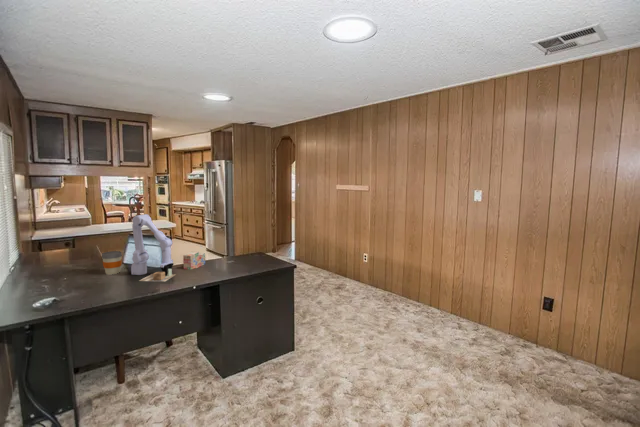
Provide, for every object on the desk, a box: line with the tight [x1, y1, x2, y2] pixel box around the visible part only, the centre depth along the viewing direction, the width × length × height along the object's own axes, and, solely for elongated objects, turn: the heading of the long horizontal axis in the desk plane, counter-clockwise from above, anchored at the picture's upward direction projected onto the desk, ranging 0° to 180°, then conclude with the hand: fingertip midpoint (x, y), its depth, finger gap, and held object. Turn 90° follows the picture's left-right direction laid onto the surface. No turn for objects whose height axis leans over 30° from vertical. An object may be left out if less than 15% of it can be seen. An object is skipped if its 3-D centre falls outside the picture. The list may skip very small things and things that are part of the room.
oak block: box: [152, 271, 165, 282], centre depth 219 cm, size 5×5×4 cm
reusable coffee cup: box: [101, 250, 123, 276], centre depth 236 cm, size 13×13×15 cm
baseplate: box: [139, 273, 177, 282], centre depth 224 cm, size 18×16×1 cm
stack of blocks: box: [182, 251, 206, 271], centre depth 254 cm, size 21×6×12 cm, turn 171°
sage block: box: [167, 269, 173, 276], centre depth 228 cm, size 4×4×4 cm
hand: (167, 274), depth 229 cm, fingers closed on sage block, 4 cm apart
